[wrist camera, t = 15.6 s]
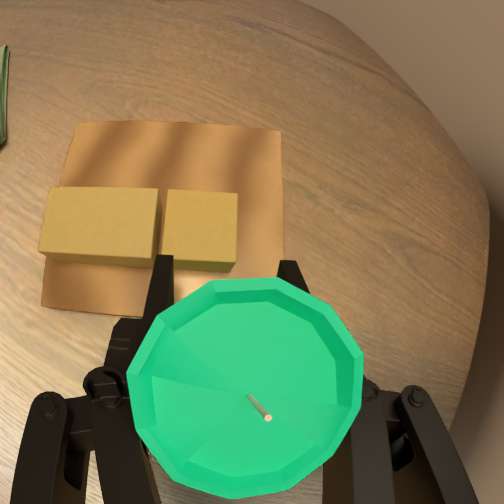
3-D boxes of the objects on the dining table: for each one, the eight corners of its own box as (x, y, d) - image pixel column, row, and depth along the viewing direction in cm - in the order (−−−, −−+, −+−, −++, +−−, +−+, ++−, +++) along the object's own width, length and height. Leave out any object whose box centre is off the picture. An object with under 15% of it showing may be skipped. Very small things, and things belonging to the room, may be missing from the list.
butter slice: (231, 211, 20) (238, 192, 17) (230, 272, 19) (236, 262, 16) (170, 208, 19) (167, 188, 16) (165, 269, 18) (160, 258, 16)
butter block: (162, 207, 19) (158, 188, 16) (157, 268, 18) (151, 258, 15) (66, 204, 18) (50, 186, 15) (57, 262, 17) (37, 251, 14)
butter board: (276, 141, 24) (280, 130, 22) (278, 322, 20) (285, 321, 19) (82, 132, 21) (77, 122, 20) (50, 308, 18) (40, 306, 16)
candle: (251, 291, 18) (352, 226, 6) (283, 386, 17) (417, 458, 5) (151, 321, 16) (67, 311, 5) (186, 419, 15) (181, 556, 4)
